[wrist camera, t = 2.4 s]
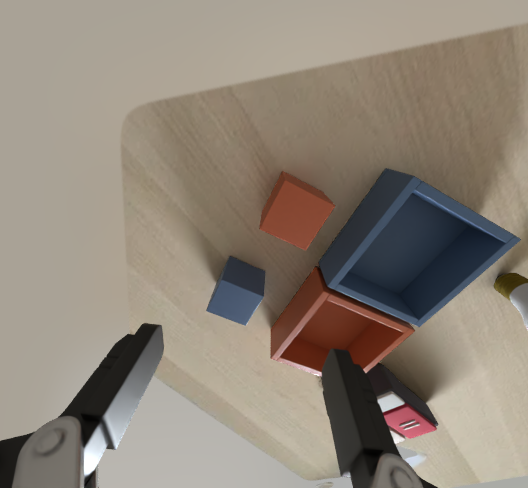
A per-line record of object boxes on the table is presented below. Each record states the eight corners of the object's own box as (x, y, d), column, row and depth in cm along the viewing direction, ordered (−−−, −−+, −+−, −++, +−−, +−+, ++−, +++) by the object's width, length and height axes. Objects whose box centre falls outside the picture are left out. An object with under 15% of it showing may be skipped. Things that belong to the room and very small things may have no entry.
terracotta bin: (270, 328, 30) (270, 358, 26) (315, 266, 25) (323, 290, 21) (340, 355, 32) (350, 387, 28) (394, 302, 27) (415, 330, 23)
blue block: (216, 284, 27) (205, 311, 23) (229, 255, 25) (221, 279, 21) (249, 297, 28) (245, 325, 24) (265, 271, 26) (264, 296, 22)
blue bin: (318, 262, 25) (327, 286, 21) (385, 167, 20) (413, 175, 16) (397, 298, 27) (419, 327, 23) (476, 220, 22) (522, 239, 18)
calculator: (380, 451, 37) (328, 422, 32) (369, 421, 41) (321, 391, 36) (443, 431, 33) (395, 394, 28) (425, 400, 37) (380, 362, 32)
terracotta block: (261, 212, 22) (259, 229, 18) (282, 170, 21) (285, 179, 16) (299, 230, 23) (305, 250, 19) (323, 192, 21) (335, 205, 17)
